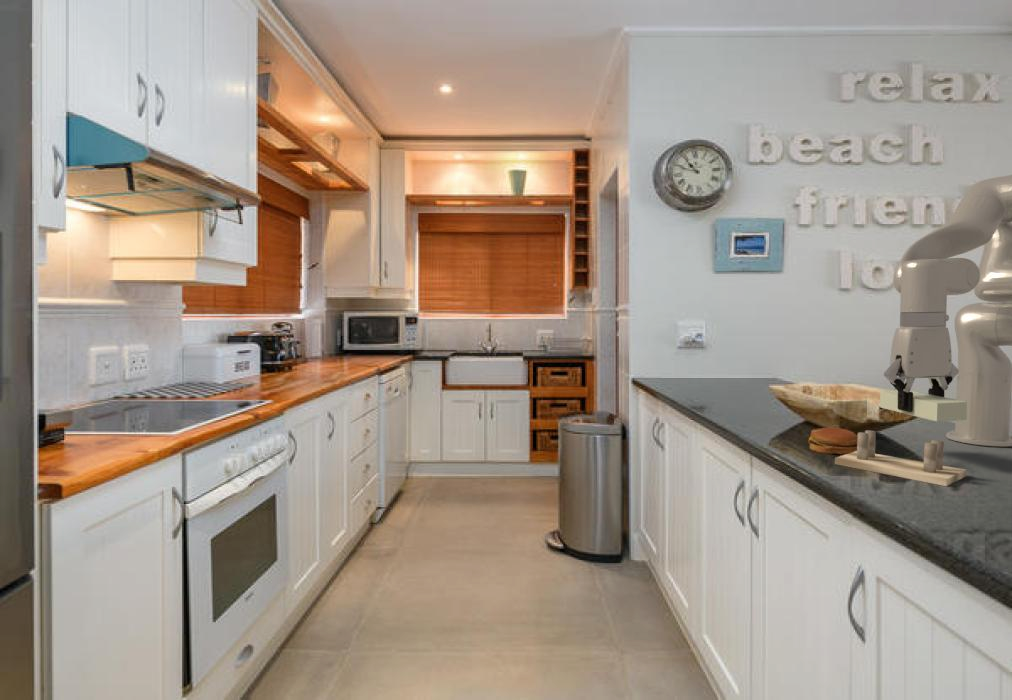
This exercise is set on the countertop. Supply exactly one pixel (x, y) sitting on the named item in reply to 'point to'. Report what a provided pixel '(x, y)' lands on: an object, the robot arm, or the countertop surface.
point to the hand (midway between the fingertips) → (920, 408)
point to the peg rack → (902, 462)
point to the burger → (833, 441)
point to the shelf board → (927, 406)
